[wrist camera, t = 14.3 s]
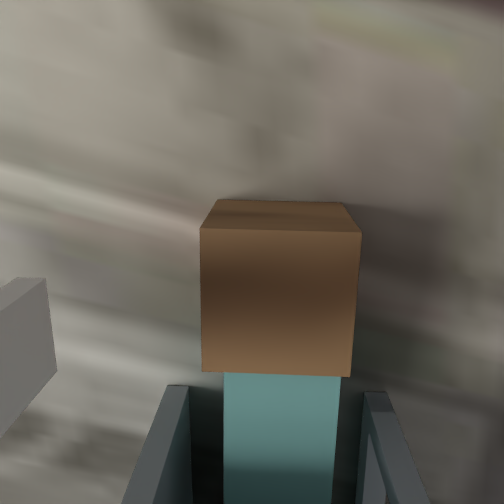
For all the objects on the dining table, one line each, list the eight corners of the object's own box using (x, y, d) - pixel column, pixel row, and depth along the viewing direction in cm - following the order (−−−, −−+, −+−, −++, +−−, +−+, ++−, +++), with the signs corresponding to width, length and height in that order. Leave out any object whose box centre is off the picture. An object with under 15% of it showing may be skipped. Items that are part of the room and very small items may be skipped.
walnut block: (332, 315, 21) (350, 376, 16) (218, 312, 21) (201, 371, 16) (340, 202, 20) (362, 232, 15) (217, 199, 20) (199, 228, 15)
